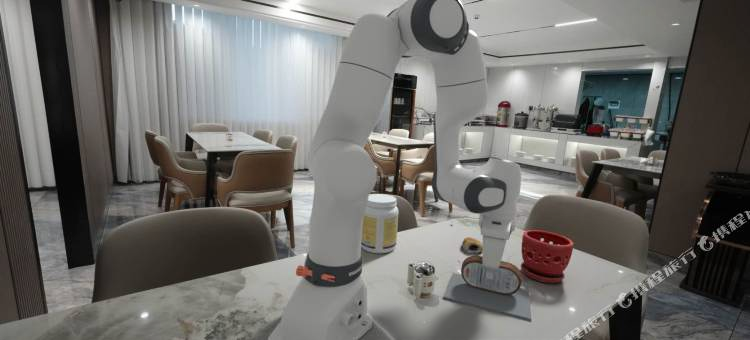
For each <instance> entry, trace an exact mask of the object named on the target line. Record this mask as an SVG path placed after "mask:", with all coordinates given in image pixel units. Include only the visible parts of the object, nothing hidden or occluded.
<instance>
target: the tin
mask: <svg viewBox="0 0 750 340" xmlns="http://www.w3.org/2000/svg"><path fill="white" fill-rule="evenodd" d="M460 275H462V278H463V279H464V281H465V282H466V283H467V284H468V285H470V286H472V287H475V288H479V289H483V290H487V291H491V292H495V293H499V294H502V295H511V294H514V293H516V292H517V291H518V290H519V289H520V288H521V287H522V283H523V282H522V281H523V275H522V272H521V270H520V269H519V268H518V267H517V265H515V264H513V263H511V262H508V261H505V260H504V261H503V260H501V263H500V266H499V269H498V270H495V271H494V277H493V279H488V278H486V268H484V267H483V262H482V256H481V255H469V256H468V257H466V258H465V259H464V260H463V262H462V264H461V267H460Z"/></svg>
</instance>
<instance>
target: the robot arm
mask: <svg viewBox="0 0 750 340" xmlns="http://www.w3.org/2000/svg"><path fill="white" fill-rule="evenodd" d="M480 41H481V40H480V38H479V36H478V35H477V33H476V32H474V31H473V30H471V29H470V25H469V22H468V17H467V13H466V10H465V7H464V5H463V3H462V1H461V0H407V1H405V2H404V3H402V4H401V5H400V6H398V7H397V8H394V9H393V10H392V11H391V12H389V13H388V14H387V15H384V14H381V13H372V12H371V13H366V14H363V15H362V16H361V17H359V18H358V19H357V20H356V22H355V24H354V26H353V28H352V30H351V32H350V34H349V36H348V38H347V41H346V43H345V45H344V48H343V50H342V53H341V55H340V56H341V57H340V59H339V63H338V66H337V69H336V72H335V76H334V80H333V84H332V87H331V90H330V93H329V96H328V100H327V103H326V106H325V109H324V111H323V113H322V116H321V117H320V121H319V124H318V126H317V128H316V130H315V133H314V137H313V138H312V142H311V145H310V146H309V147H310V148H309V150H308V153H307V159H306V165H307V168H308V172H309V173H310V175H311V176H312V177H313V183H314V191H313V200H312V207H311V213H310V217H309V221H308V223H309V224H308V227H309V229H308V253H307V254H306V258H305V261H304V265H298V266H297V267H296V269H295V275H296V276H298V277H301V279H300V281H299V282H298V284H297V285H296V287H295V289H294V290H293V292H292V294H291V296H290V298H289V300H288V302H287V303H286V305H285V307H284V308H283V310H282V315H281V320H280V321H279V323H278V324H277V325H276V326H275V328H274V329H273V330H272V332H271V333H270V335H269V336H268V338H267V340H360V338H362V336H364V335H365V334H366V333H367V332H369V330H370V329H372V328H373V319H372V318H371V316H369V315H368V289H367V285H366V284H365V282H364V279H363V277H362V275H361V274H362V272H363V265H364V261H363V254H362V253H361V252H362V247H361V240H362V225H363V218H364V214H365V209H366V206H367V202H368V198H369V195H371V193H372V191H373V190H374V188H375V186H376V183H377V179H378V171H377V167H376V165H375V162H374V161H373V158H372V157H371V156H370V153H368V151H367V150H366V149H365V147H366V144H367V142H368V140H369V138H370V136H371V134H372V133H373V131H374V129H375V127H376V126H377V124H379V123H380V121H381V119H382V116H383V114H384V110H385V106H386V103H387V100H388V98H389V97H388V96H389V94H390V90H391V87H392V84H393V81H394V78H395V77H394V76H395V73H396V69H397V66H398V64H399V62H400V60H401V59H402V58H405V59H407V58H412V57H424V56H425V57H426V58H427V59H428V60H429V62H430V64H431V65H432V67H433V68H432V69H433V72H434V83H435V93H436V111H435V113H434V116H433V117H434V119H433V144H434V145H433V147H434V169H433V174H432V179H431V190H432V192H433V195H435V197H436V198H437V200H440V201H441V202H442V201H443V202H444V203H448V204H451V205H454V206H455V207H458V208H459V209H463V210H465V211H468V212H469V213H472V214H479V216H478V217H479V218H478V226H479V228H480V235H481V236H482V246H483V249H482V252H481V253H482V262H483V267H484V268H486V278H488V279H493V277H494V271H495V270H498V269H499V266H500V263H501V261H502V259H503V255H504V252H505V251H504V250H505V248H506V245H507V244H506V243H507V241H508V240H510V236H511V235H512V233H513V232H515V230H516V229H515V228H516V224H517V223H516V221H517V215H518V207H517V202H518V200H519V198H520V193H521V186H522V170H521V165H520V164H519V163H518V162H516V161H513V160H510V159H505V158H501V157H496V156H495V157H490V158H489V159H488V161H487V162H486V163H485V164H483V165H482V166H480V167H478V168H476V169H473V170H470V169H467V168H465V167H464V166H462V164H461V163H460V160H459V159H460V157H459V156H460V155H459V154H460V153H459V147H460V146H459V139H460V138H459V136H460V135H459V134H460V131H461V130H462V128H463V127H464V125H466V124H468V123H470V122H472V121H474V120H475V119H476V118H478V117H479V116H480V115H481V114H482V113H483V112H484V110H485V109H486V106H487V103H488V100H489V99H488V97H489V86H488V79H487V78H488V76H487V67H486V63H485V57H484V53H483V49H482V45H481V42H480Z"/></svg>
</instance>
